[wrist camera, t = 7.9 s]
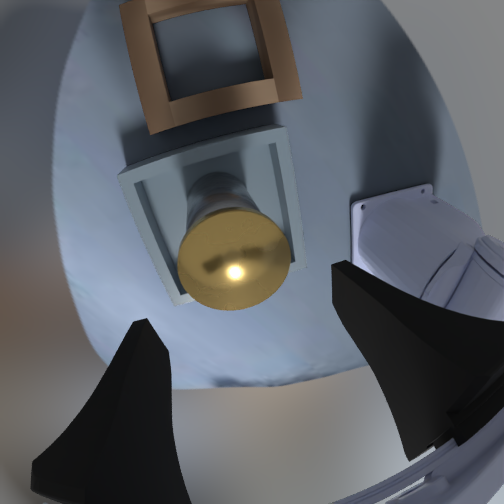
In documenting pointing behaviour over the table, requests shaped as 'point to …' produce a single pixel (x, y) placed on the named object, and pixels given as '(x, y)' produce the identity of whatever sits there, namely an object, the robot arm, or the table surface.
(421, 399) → the robot arm
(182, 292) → the tray
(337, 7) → the table surface
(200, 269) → the jar with gold lid
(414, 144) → the table surface
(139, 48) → the socket block
